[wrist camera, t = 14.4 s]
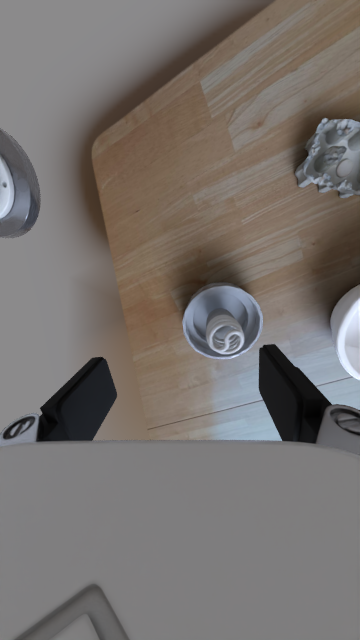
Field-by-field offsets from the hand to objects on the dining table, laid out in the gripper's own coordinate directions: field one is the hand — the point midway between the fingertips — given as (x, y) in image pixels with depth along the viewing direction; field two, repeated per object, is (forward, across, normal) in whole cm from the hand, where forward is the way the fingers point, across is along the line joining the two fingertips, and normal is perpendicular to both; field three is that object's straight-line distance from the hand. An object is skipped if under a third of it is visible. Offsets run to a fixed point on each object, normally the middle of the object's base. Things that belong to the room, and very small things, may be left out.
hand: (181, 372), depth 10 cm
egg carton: (+26, -23, -16) cm, 39 cm away
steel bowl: (+26, -5, +6) cm, 27 cm away
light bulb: (+26, -5, +6) cm, 27 cm away
